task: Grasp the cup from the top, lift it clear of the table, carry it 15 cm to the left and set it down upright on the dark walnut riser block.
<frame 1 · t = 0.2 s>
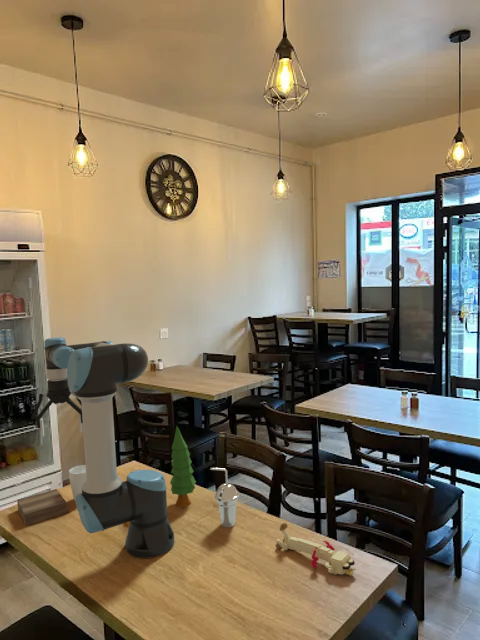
hand: (61, 433, 180), 26 cm above the table, tool pointing down, fingers open, 13 cm apart
decorative tree: (184, 502, 177), on the table
cup with straw: (227, 524, 160), on the table
cup: (83, 499, 183), on the table
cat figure: (315, 561, 138), on the table
riser: (42, 511, 174), on the table
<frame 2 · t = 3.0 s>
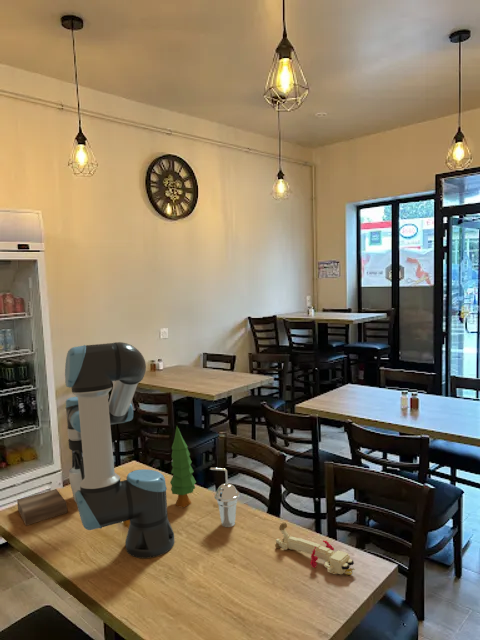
hand: (82, 494, 183), 2 cm above the table, tool pointing down, fingers closed on cup, 9 cm apart
cup: (83, 499, 183), on the table, touching gripper
everything else where it was.
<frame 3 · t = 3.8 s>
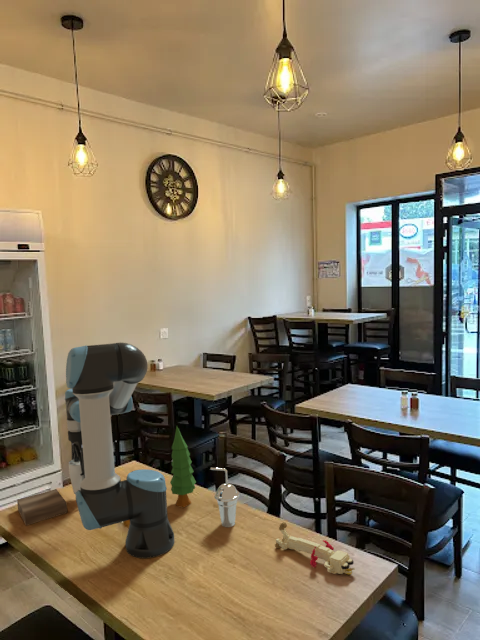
hand: (82, 486, 182), 5 cm above the table, tool pointing down, fingers closed on cup, 9 cm apart
cup: (82, 491, 182), point 3 cm above the table, touching gripper
everything else where it was.
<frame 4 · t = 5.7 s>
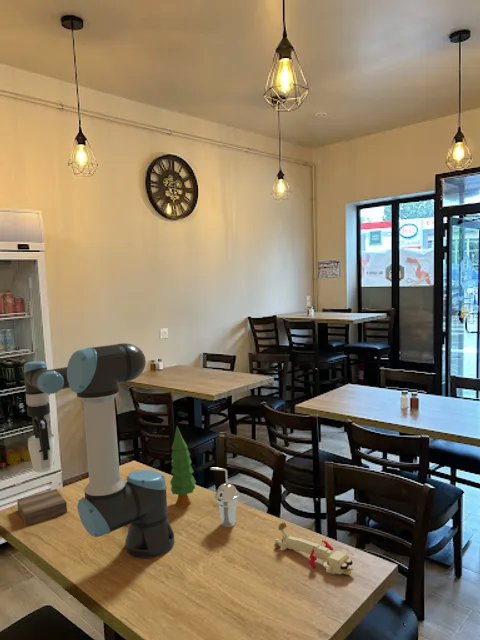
hand: (42, 463, 174), 18 cm above the table, tool pointing down, fingers closed on cup, 9 cm apart
cup: (43, 469, 174), point 15 cm above the table, touching gripper
everything else where it was.
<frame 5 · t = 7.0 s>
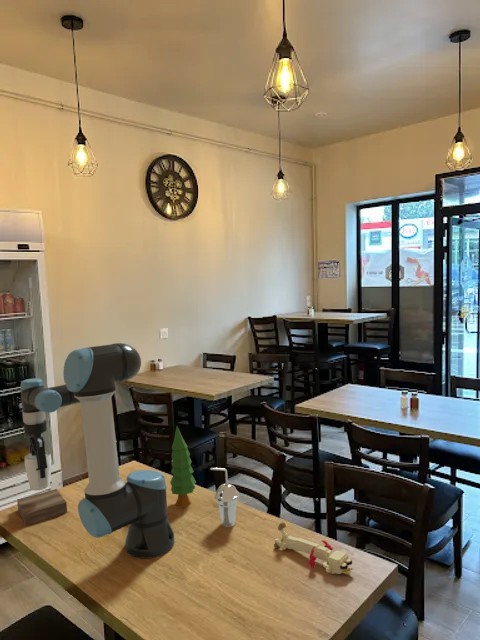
hand: (39, 481, 173), 11 cm above the table, tool pointing down, fingers closed on cup, 9 cm apart
cup: (40, 487, 173), point 9 cm above the table, touching gripper
everything else where it was.
when the fingers open (7 cm above the table, at t = 8.6 s): cup drops 1 cm, resting on riser.
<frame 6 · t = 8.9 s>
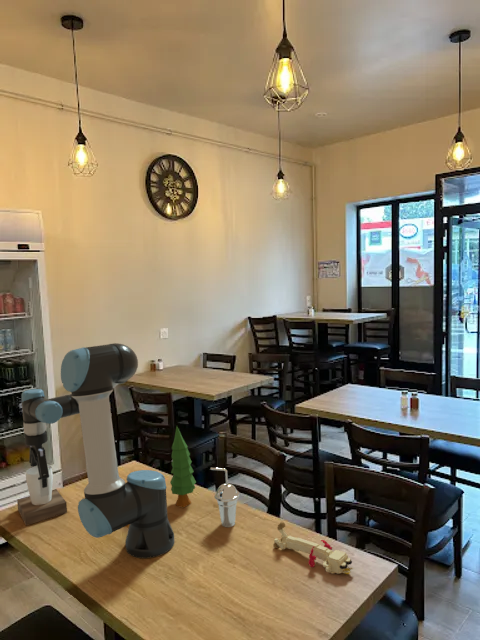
hand: (40, 489, 173), 9 cm above the table, tool pointing down, fingers open, 12 cm apart
cup: (41, 501, 174), point 4 cm above the table, touching riser
everything else where it was.
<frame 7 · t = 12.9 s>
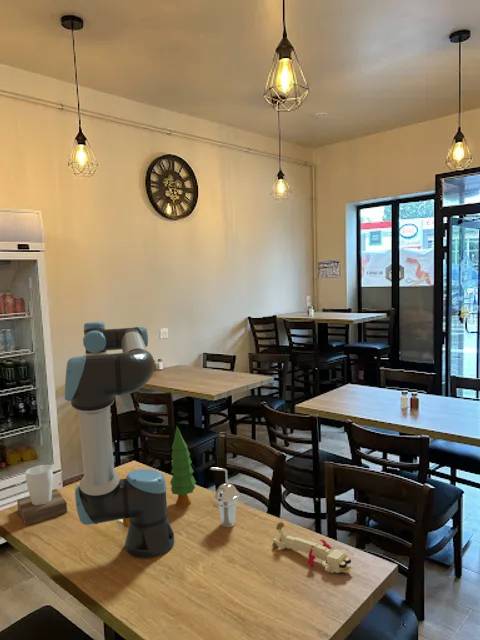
hand: (100, 418, 179), 32 cm above the table, tool pointing down, fingers open, 13 cm apart
at the end: cup inside the target area on the riser (0.3 cm from its centre), point 3.8 cm above the riser's base; cup tilted 0°; the gripper is holding nothing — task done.
